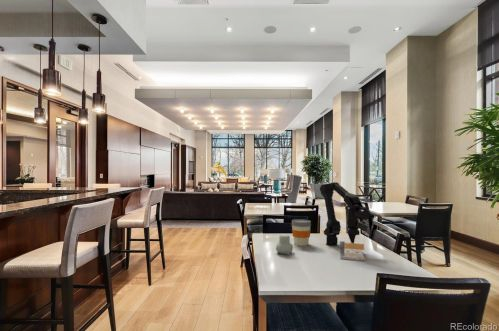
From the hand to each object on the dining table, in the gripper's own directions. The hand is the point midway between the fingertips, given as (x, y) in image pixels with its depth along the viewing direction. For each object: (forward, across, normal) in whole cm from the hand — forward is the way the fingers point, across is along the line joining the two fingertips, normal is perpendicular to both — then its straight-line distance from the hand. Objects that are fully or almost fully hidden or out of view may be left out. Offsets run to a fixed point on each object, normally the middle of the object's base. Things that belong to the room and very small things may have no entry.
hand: (352, 243), depth 166 cm
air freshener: (+5, -14, +38) cm, 41 cm away
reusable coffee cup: (+5, +10, +31) cm, 33 cm away
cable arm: (+1, -6, +1) cm, 6 cm away
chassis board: (+5, -6, +1) cm, 8 cm away
